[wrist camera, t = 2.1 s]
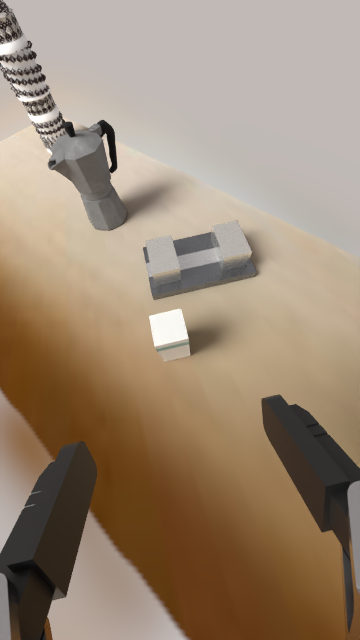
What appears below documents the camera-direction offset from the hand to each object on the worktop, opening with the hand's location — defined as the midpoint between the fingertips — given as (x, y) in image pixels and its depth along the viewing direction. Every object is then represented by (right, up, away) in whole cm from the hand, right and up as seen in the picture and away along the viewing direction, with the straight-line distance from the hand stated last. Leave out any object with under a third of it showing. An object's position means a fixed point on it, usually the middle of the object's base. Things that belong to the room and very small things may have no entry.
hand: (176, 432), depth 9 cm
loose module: (-1, 0, +27) cm, 27 cm away
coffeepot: (-16, +30, +42) cm, 54 cm away
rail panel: (+4, +16, +33) cm, 37 cm away
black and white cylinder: (-37, +59, +56) cm, 89 cm away
